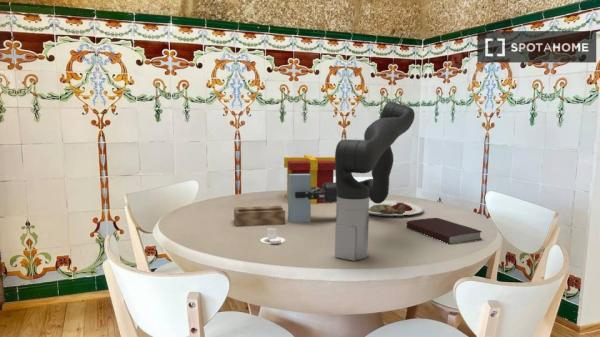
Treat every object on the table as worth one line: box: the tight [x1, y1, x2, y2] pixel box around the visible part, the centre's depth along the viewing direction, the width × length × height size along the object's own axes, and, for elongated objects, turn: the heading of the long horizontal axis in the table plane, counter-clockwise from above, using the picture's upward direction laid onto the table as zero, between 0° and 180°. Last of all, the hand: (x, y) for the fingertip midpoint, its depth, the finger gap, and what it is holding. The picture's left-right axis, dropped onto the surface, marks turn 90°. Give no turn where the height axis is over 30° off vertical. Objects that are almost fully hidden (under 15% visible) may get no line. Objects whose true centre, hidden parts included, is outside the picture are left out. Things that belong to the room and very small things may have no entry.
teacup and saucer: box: [259, 227, 286, 245], centre depth 140 cm, size 9×8×4 cm
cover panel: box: [287, 174, 312, 224], centre depth 165 cm, size 8×3×18 cm, turn 102°
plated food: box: [369, 199, 425, 217], centre depth 187 cm, size 30×30×3 cm
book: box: [406, 217, 482, 245], centre depth 150 cm, size 14×22×4 cm, turn 23°
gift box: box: [283, 154, 335, 205], centre depth 209 cm, size 25×25×20 cm
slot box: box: [233, 205, 286, 227], centre depth 164 cm, size 18×9×5 cm, turn 102°
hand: (293, 193), depth 164 cm, fingers open, 6 cm apart
